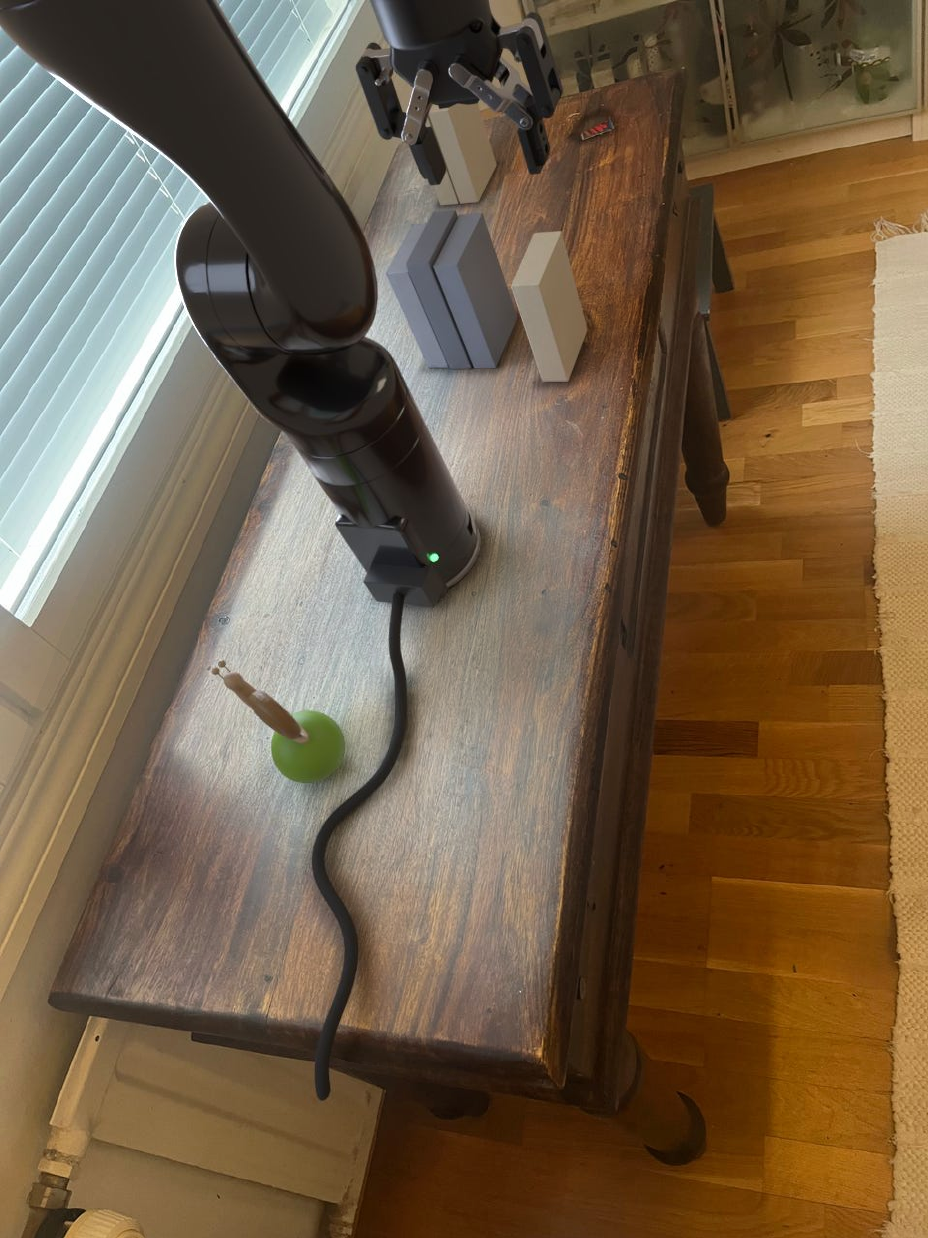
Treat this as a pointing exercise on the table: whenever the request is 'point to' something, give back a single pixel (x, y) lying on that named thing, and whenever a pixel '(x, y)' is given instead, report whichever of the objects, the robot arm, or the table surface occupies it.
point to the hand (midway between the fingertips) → (487, 173)
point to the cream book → (550, 306)
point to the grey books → (453, 291)
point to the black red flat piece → (598, 129)
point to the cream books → (462, 153)
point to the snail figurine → (293, 733)
